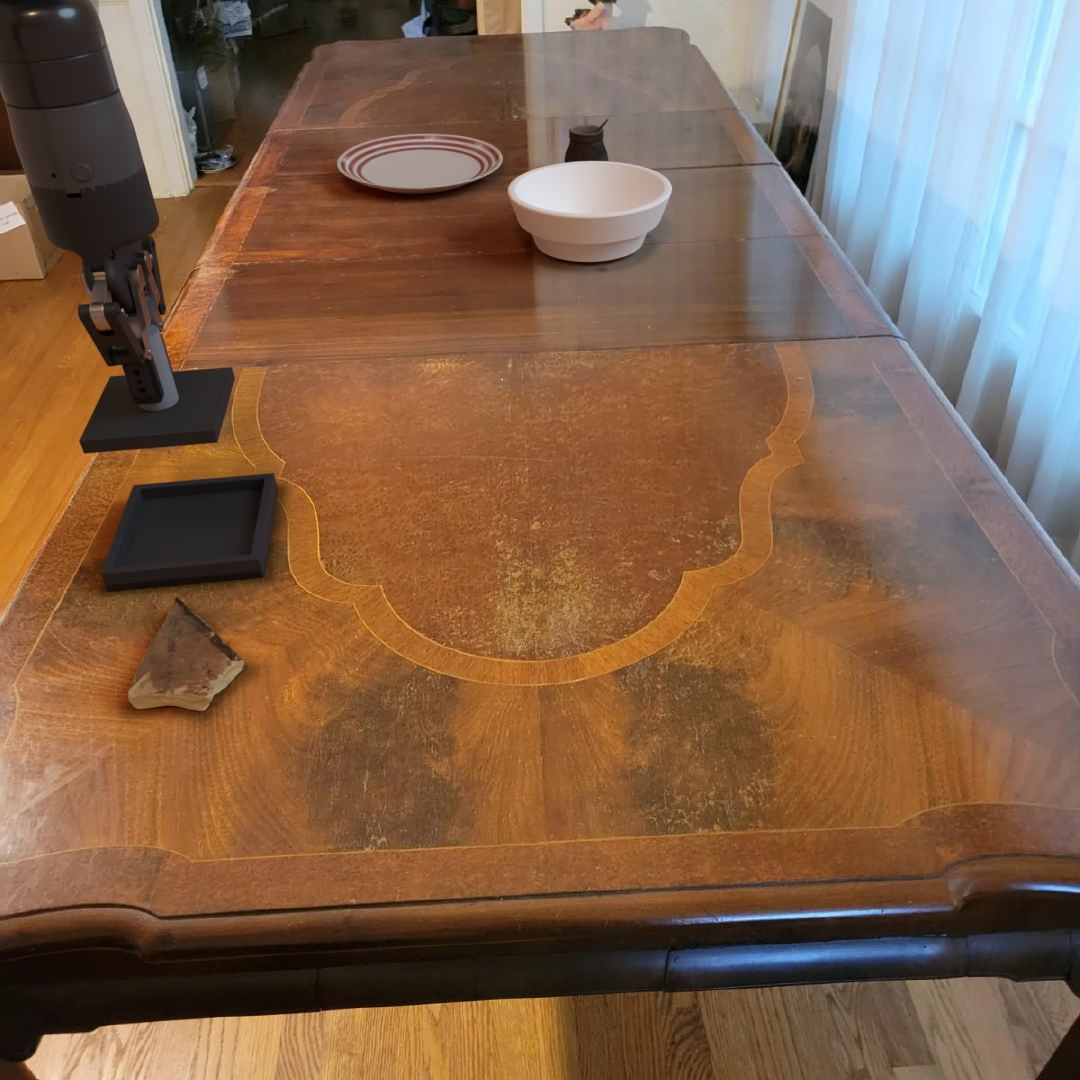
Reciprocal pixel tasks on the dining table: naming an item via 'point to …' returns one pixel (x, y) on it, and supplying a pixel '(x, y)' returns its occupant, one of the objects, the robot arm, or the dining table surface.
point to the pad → (164, 424)
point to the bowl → (589, 208)
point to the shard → (183, 664)
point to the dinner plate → (419, 162)
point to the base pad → (192, 532)
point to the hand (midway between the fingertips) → (154, 389)
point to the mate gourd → (586, 144)
